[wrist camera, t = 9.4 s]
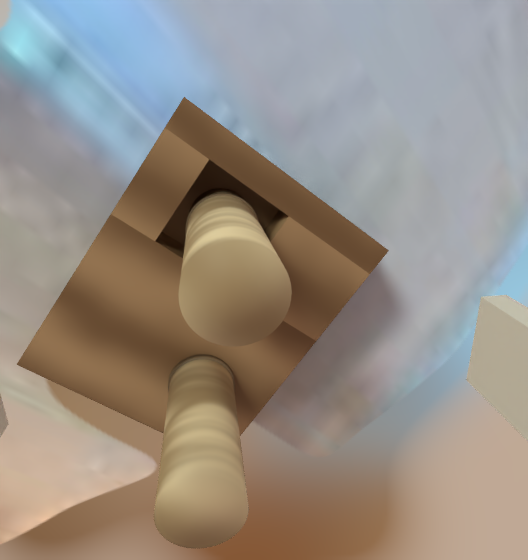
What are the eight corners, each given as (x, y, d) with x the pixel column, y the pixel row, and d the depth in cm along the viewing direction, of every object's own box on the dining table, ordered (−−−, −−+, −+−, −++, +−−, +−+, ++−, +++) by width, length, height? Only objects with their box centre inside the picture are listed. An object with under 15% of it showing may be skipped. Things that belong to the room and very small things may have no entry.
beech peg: (211, 172, 29) (220, 214, 16) (267, 211, 30) (316, 280, 17) (173, 228, 30) (152, 312, 17) (229, 264, 31) (249, 367, 18)
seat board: (187, 101, 30) (171, 78, 14) (358, 229, 35) (490, 320, 19) (47, 324, 34) (-89, 502, 18) (218, 411, 39) (229, 611, 23)
